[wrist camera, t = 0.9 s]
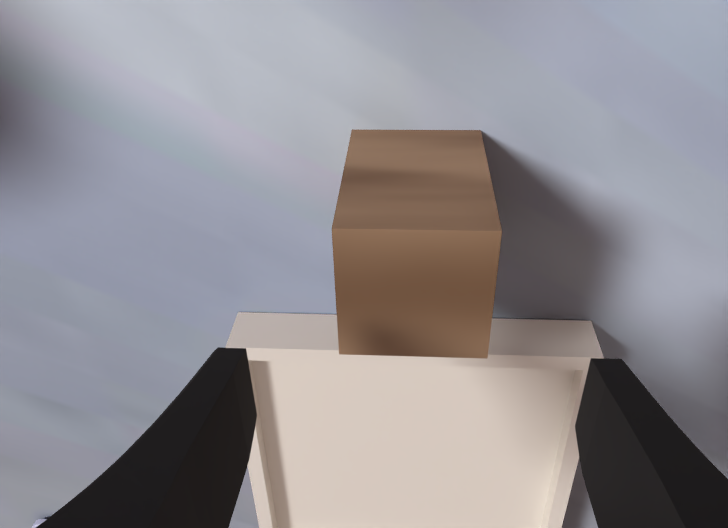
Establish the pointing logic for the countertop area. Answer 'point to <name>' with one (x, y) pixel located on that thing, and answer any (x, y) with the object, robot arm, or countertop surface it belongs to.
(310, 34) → the countertop surface
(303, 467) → the serving dish
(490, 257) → the walnut block
